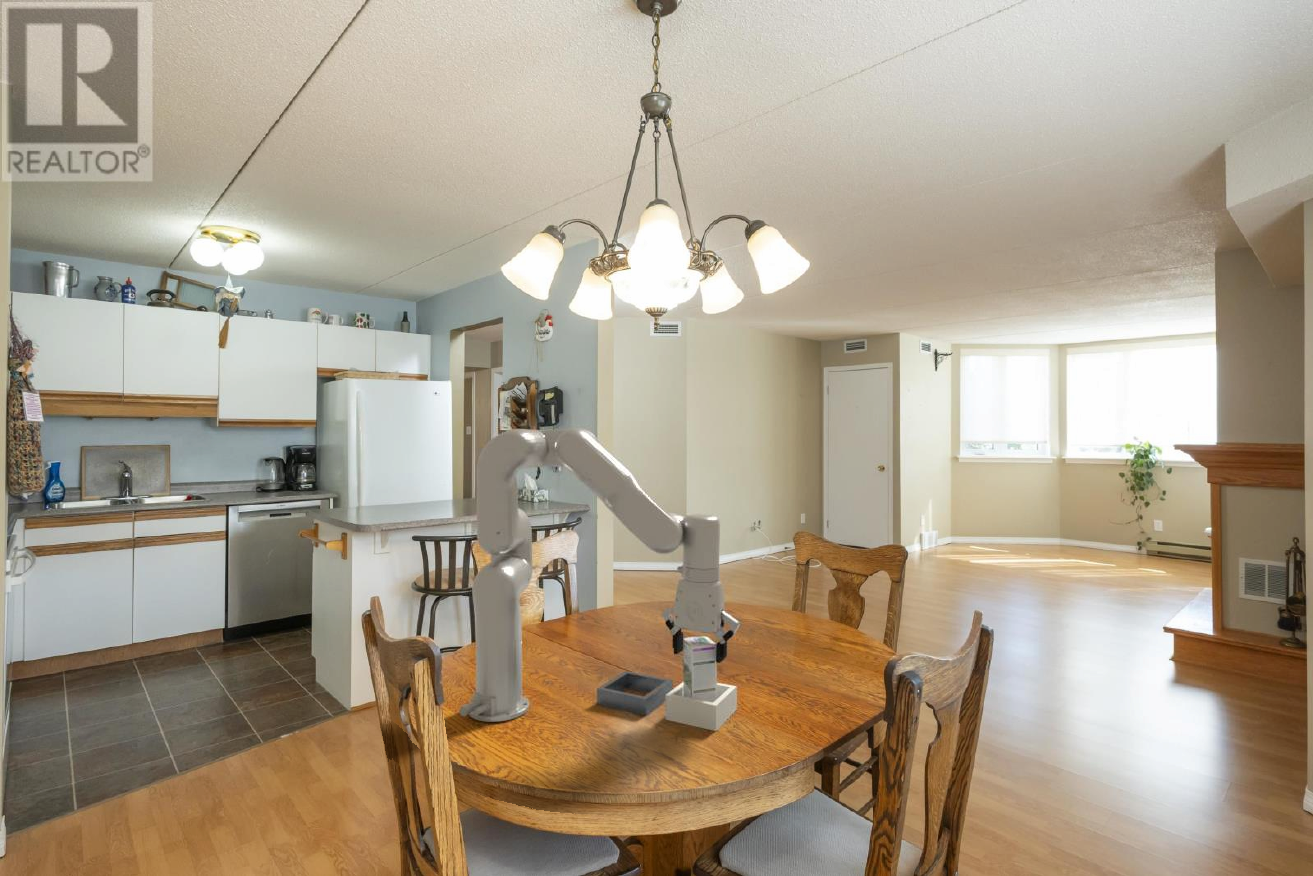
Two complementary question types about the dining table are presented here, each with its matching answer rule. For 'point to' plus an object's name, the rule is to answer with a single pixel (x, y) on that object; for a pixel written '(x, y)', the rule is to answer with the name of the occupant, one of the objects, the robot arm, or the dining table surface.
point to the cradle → (701, 707)
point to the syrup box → (700, 668)
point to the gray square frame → (627, 702)
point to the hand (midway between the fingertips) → (699, 656)
